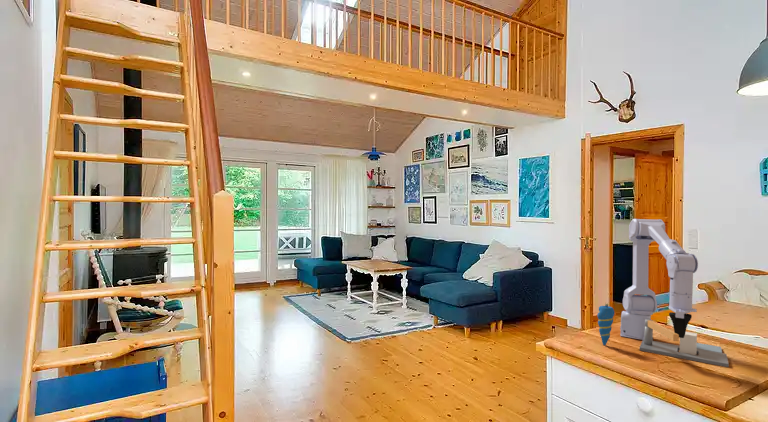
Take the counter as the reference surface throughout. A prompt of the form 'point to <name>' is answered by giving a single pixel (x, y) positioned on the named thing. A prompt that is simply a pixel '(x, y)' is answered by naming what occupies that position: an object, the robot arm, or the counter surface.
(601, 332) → the ornament
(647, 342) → the socket block
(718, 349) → the rest pad
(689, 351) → the plug
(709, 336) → the counter surface
